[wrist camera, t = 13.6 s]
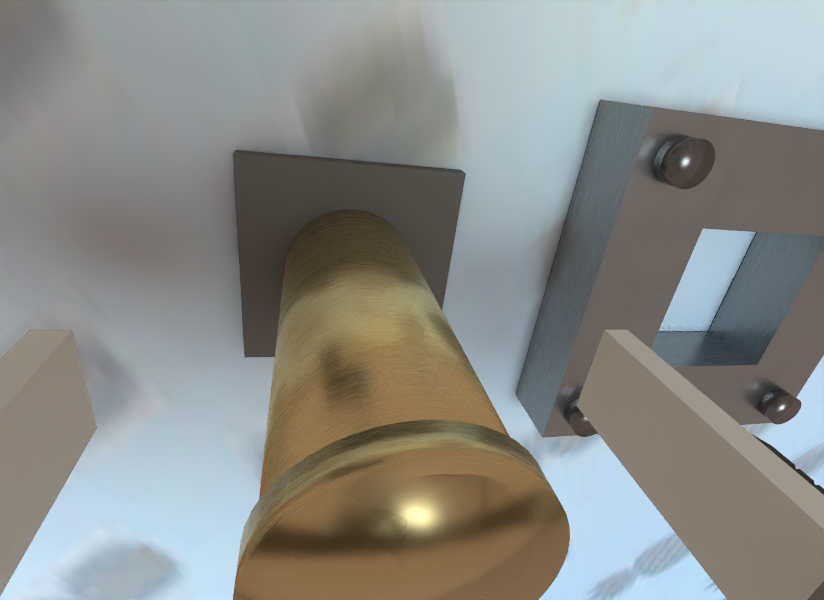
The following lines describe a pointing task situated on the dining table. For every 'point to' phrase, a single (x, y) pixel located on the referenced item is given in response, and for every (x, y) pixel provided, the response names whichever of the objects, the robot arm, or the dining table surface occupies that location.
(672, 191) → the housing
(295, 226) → the mat
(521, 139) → the dining table surface
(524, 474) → the brass-coloured knob
